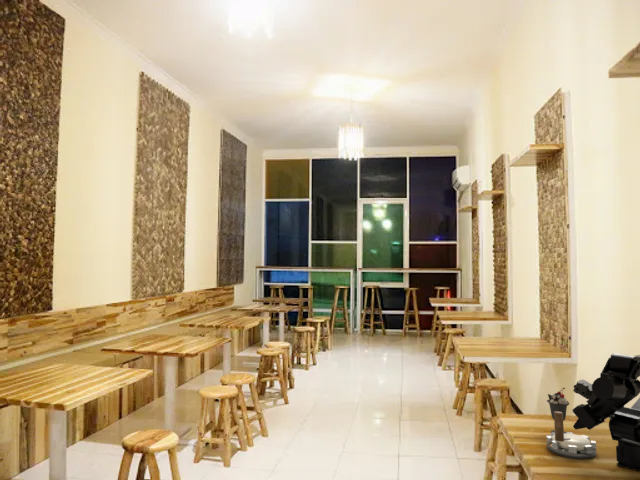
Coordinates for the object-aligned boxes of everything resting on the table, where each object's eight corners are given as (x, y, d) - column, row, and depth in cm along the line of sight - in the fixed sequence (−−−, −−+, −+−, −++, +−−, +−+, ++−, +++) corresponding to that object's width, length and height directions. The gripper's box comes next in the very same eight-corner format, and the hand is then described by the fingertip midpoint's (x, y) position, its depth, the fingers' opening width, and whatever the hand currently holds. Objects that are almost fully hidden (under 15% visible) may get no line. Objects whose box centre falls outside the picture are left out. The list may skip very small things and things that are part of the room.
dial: (598, 449, 140) (596, 416, 140) (565, 451, 138) (564, 418, 139) (575, 437, 150) (574, 406, 150) (545, 439, 148) (544, 407, 149)
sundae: (574, 436, 155) (572, 389, 156) (553, 436, 156) (551, 389, 156) (564, 429, 162) (562, 384, 163) (544, 429, 162) (542, 384, 163)
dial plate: (602, 450, 144) (601, 438, 144) (587, 463, 135) (587, 451, 135) (556, 439, 153) (556, 428, 153) (540, 450, 144) (539, 439, 144)
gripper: (604, 368, 144) (567, 398, 152) (579, 377, 132) (539, 409, 140) (635, 400, 138) (595, 430, 145) (612, 412, 125) (569, 444, 133)
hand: (574, 427), depth 141 cm, fingers closed
